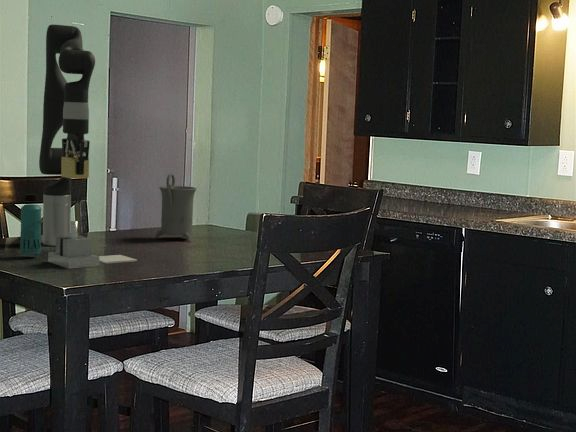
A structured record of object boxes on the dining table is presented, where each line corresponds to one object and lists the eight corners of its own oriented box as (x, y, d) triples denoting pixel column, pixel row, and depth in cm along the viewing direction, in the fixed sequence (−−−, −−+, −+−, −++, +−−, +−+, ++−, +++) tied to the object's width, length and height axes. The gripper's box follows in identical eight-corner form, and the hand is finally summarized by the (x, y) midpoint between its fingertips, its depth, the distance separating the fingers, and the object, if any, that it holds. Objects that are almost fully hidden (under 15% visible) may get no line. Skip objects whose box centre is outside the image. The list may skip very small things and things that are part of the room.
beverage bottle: (19, 259, 285) (20, 194, 283) (19, 255, 291) (20, 192, 289) (41, 259, 287) (42, 195, 285) (41, 255, 293) (41, 193, 291)
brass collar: (61, 176, 278) (61, 156, 277) (79, 176, 282) (79, 156, 281) (70, 178, 273) (70, 157, 273) (88, 178, 277) (88, 158, 276)
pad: (89, 258, 292) (89, 256, 292) (120, 256, 299) (120, 254, 299) (105, 263, 283) (105, 262, 283) (137, 261, 290) (137, 259, 290)
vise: (48, 261, 283) (48, 219, 281) (78, 259, 289) (78, 218, 287) (68, 268, 272) (69, 224, 270) (99, 266, 278) (100, 223, 277)
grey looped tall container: (166, 235, 355) (168, 170, 352) (202, 238, 351) (205, 172, 348) (146, 241, 337) (148, 172, 334) (184, 244, 333) (186, 175, 330)
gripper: (98, 118, 272) (97, 175, 274) (76, 117, 284) (75, 172, 285) (75, 118, 268) (74, 175, 270) (53, 116, 279) (52, 172, 281)
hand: (74, 173), depth 277 cm, fingers closed on brass collar, 6 cm apart
